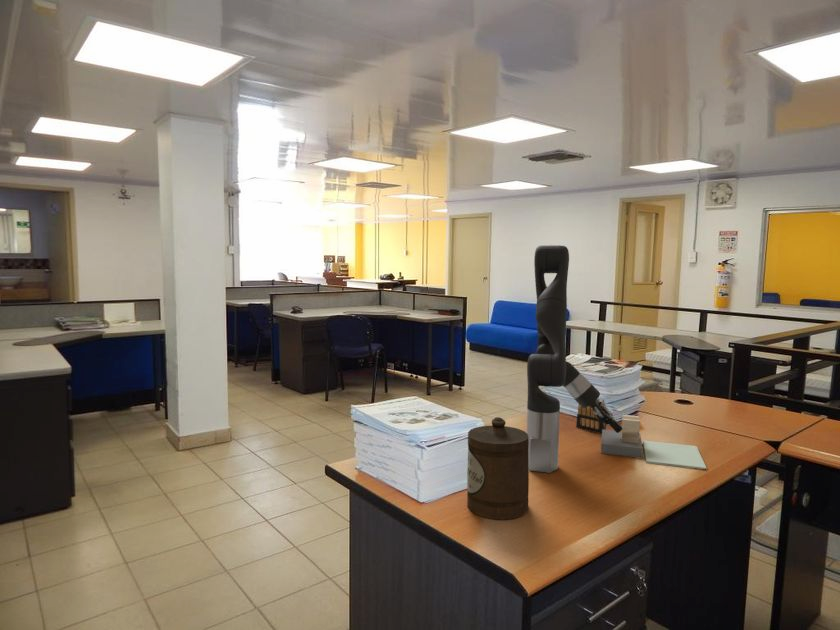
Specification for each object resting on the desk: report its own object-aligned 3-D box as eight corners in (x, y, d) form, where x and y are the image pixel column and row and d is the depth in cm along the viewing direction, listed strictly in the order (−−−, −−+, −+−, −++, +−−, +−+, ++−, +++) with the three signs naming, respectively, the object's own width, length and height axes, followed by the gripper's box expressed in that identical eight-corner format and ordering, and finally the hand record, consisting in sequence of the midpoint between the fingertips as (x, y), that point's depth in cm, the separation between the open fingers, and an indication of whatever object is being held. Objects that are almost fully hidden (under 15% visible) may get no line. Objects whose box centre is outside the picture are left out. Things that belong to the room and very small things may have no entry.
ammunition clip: (576, 427, 195) (577, 395, 194) (578, 426, 196) (579, 394, 195) (603, 434, 187) (604, 400, 186) (605, 432, 188) (607, 399, 187)
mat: (706, 469, 154) (706, 467, 154) (646, 462, 160) (646, 460, 159) (696, 447, 173) (696, 446, 173) (643, 442, 178) (643, 440, 178)
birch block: (638, 442, 168) (639, 421, 168) (621, 441, 170) (622, 419, 169) (637, 437, 174) (638, 416, 173) (621, 435, 176) (622, 414, 175)
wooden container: (467, 492, 139) (468, 409, 137) (525, 494, 137) (527, 411, 135) (466, 518, 124) (467, 426, 122) (531, 522, 122) (533, 428, 120)
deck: (642, 457, 164) (642, 448, 163) (600, 453, 168) (601, 443, 167) (639, 441, 179) (640, 433, 178) (602, 437, 183) (602, 429, 182)
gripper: (590, 387, 169) (630, 429, 166) (591, 379, 181) (628, 418, 178) (572, 402, 171) (611, 444, 168) (574, 393, 183) (611, 431, 180)
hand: (620, 430), depth 173 cm, fingers closed
